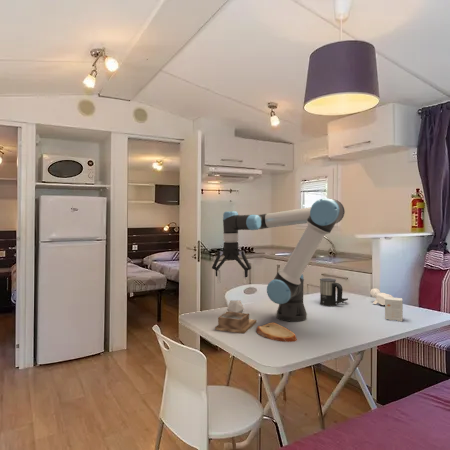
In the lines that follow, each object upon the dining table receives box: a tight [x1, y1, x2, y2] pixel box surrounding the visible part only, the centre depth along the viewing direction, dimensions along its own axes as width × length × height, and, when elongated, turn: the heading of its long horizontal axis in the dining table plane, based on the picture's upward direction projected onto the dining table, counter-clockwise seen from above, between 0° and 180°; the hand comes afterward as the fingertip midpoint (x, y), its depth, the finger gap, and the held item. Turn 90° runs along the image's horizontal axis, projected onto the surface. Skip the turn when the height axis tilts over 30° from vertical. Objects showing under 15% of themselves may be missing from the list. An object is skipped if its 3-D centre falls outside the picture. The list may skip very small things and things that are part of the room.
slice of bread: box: [255, 321, 298, 343], centre depth 163 cm, size 18×18×4 cm
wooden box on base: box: [214, 311, 257, 334], centre depth 175 cm, size 14×18×6 cm
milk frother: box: [319, 277, 349, 307], centre depth 218 cm, size 14×16×15 cm
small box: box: [384, 297, 404, 322], centre depth 186 cm, size 8×6×10 cm
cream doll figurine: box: [369, 288, 394, 306], centre depth 217 cm, size 9×8×15 cm
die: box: [226, 299, 245, 313], centre depth 191 cm, size 8×9×10 cm
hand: (231, 283), depth 190 cm, fingers open, 13 cm apart
